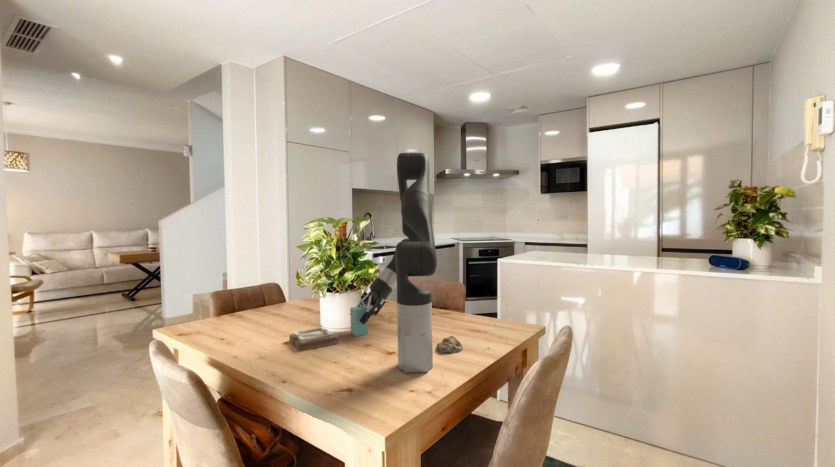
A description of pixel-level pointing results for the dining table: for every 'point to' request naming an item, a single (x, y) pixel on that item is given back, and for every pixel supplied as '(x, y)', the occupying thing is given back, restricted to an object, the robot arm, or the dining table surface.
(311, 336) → the block
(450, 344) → the mineral rock
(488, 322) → the dining table surface
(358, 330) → the teal block
